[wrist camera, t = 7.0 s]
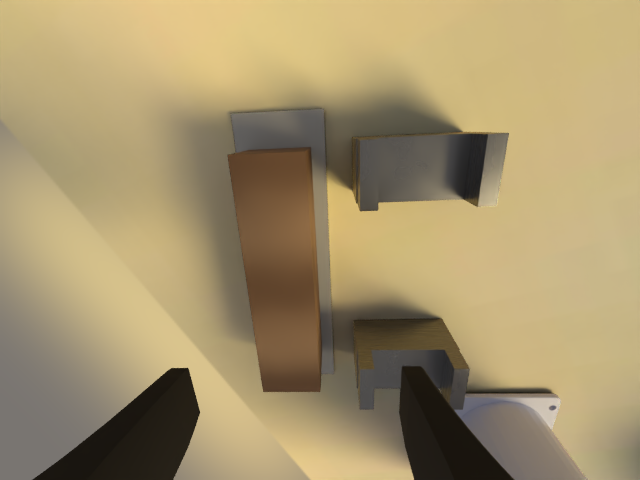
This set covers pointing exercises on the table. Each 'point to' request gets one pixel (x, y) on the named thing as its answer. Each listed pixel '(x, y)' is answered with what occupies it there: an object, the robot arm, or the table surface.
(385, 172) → the post
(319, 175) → the mat
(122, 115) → the table surface
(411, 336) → the post
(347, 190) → the table surface
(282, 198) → the rail
